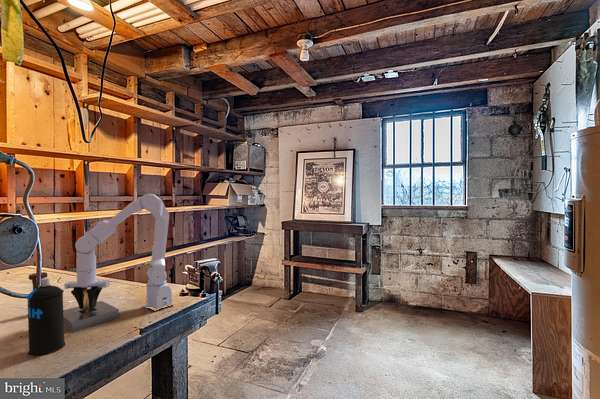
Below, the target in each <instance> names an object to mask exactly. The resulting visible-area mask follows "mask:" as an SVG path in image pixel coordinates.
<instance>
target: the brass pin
mask: <svg viewBox="0 0 600 399" xmlns="http://www.w3.org/2000/svg"><path fill="white" fill-rule="evenodd" d="M88 289H91V288H87V289H84V290H82V292H83V314H84V313H88V312H92V311H93V309H90V306H89V297H88V293H87V290H88Z"/></svg>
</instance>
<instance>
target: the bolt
mask: <svg viewBox="0 0 600 399" xmlns="http://www.w3.org/2000/svg"><path fill="white" fill-rule="evenodd" d="M37 273H38V272H35V273H30V274H29V275H28V280H29V281H31V284H32V291H33V290H35V288H36V278H37ZM44 278H48V273H47V272H46V271H45V272H41V279H44ZM40 287H41V286H40Z"/></svg>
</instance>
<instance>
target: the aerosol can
mask: <svg viewBox="0 0 600 399" xmlns="http://www.w3.org/2000/svg"><path fill="white" fill-rule="evenodd" d="M50 281H51V280H50V278H49V277H46V278H44V279H41V287H39V288H37V289H35V290H33V289H32V291H31V292H30V293H29V294H28V295H27V296H26V299H27V320H28V321H27V322H28V323H27V326H28V352H27V355H29V356H30V357H42V356H46V355H49V354H52V353H55V352H57V351H60V350H62V349H63V348H64V347H65V345H66V342H65V326H64V317H63V310H64V294H63V293H64V289H62V288H61V287H59V286H56V285H51V283H50Z"/></svg>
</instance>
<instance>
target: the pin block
mask: <svg viewBox="0 0 600 399" xmlns="http://www.w3.org/2000/svg"><path fill="white" fill-rule="evenodd" d="M119 310H120V309H119V308H117V307H115V306H113V305H111V304H109V303H108V302H105V301H103V300H97V303H96V307H95V308H93V311H92V312H88V313H84V314H83V309H80V308H79V305H78V306H75V307H72V308H71V307H70V308H68V309H63V317H64V328H66V329H68V330H69V331H70V332H72V333H73V332H77V331H79V330H83V329H86V328H89V327H92V326H95V325H99V324H103V323H105V322H108V321H112V320H116V319H118V318H120V311H119Z"/></svg>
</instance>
